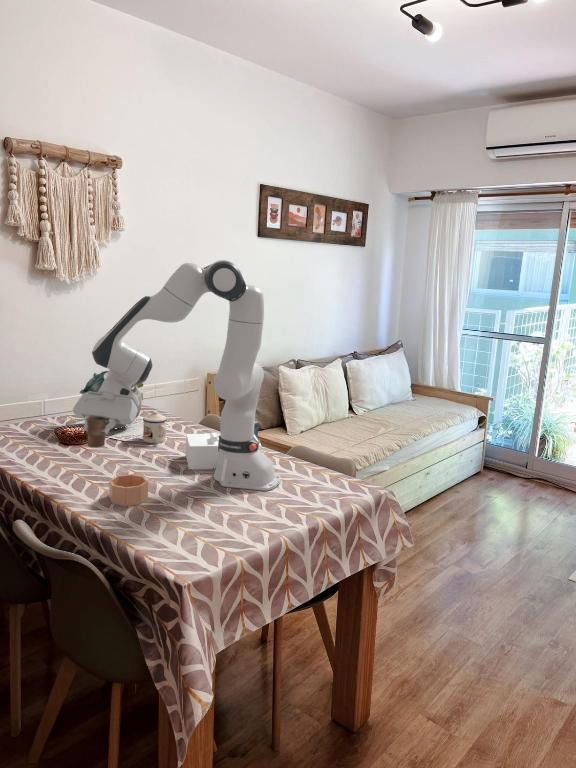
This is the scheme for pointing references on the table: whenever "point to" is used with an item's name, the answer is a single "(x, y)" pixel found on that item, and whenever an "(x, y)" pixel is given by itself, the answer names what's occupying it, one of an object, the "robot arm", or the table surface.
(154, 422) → the teacup with lid
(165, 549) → the table surface
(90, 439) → the peg
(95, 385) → the flower arrangement
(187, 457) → the tissue box
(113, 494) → the cup
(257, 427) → the flask
